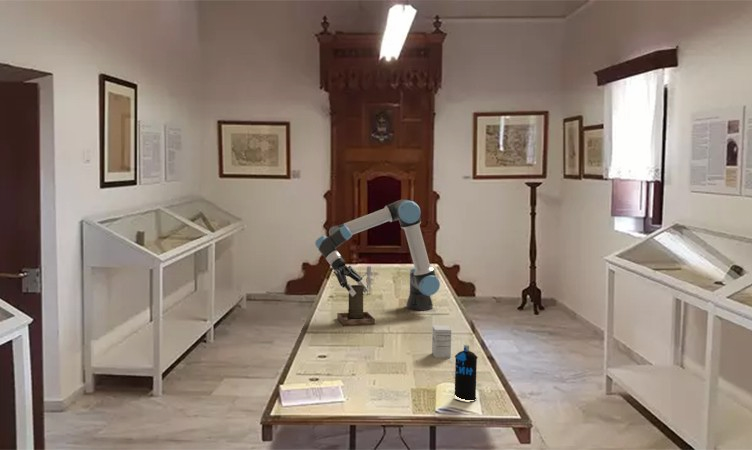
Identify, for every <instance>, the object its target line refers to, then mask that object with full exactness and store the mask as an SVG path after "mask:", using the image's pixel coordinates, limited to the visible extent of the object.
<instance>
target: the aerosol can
mask: <svg viewBox="0 0 752 450" xmlns="http://www.w3.org/2000/svg"><path fill="white" fill-rule="evenodd" d="M478 357H479V356H477V355H476V354H475V353H474V352H473V351H470V345H469V344H463V350H461V351H458V352H457V354H455V356H454V358H455V364H454V365H455V368H454V370H455V373H454V396H455V395H456V396H457V397H459V398H461V399H465V400H475V399H476V400H477V395H476V393H477V367H478V365H477V363H478V361H477V360H478ZM476 400H475V401H476Z"/></svg>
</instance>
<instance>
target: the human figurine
mask: <svg viewBox="0 0 752 450" xmlns="http://www.w3.org/2000/svg"><path fill="white" fill-rule="evenodd" d="M366 275H367V277H366V278H365V279H366V280H365V282H366V287H367V288H368V290H367V291H366V295H371V290H372V288H371V287H372V285H371V284H372V280H373V279H372V277H371V275H373V277H374V278H376V279H377V280H379V279H378V277H376V275H375V274H374V273H373V272H372V266H369V265H368V266H366V272H365V274H363V275H362V276H361V277H362V278H364V277H365V276H366Z"/></svg>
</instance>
